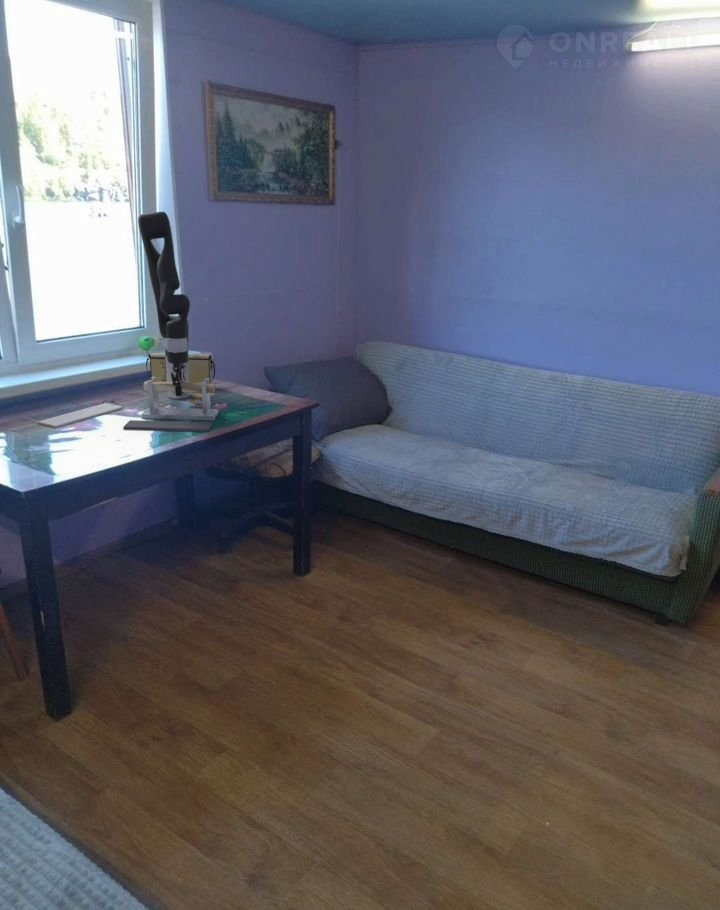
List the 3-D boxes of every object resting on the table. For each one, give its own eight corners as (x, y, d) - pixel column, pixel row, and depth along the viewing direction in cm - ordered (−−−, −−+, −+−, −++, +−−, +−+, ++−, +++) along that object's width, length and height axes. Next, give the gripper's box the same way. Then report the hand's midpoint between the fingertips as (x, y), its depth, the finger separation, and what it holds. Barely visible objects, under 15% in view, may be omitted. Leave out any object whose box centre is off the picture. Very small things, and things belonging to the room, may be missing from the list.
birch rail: (146, 388, 266) (145, 381, 265) (214, 390, 266) (214, 383, 265) (143, 390, 263) (143, 383, 262) (213, 392, 263) (213, 385, 262)
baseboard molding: (33, 424, 254) (55, 430, 248) (32, 416, 253) (54, 422, 247) (102, 405, 279) (123, 410, 274) (101, 398, 278) (122, 403, 273)
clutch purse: (217, 385, 314) (215, 352, 309) (214, 389, 307) (213, 355, 302) (149, 383, 312) (147, 350, 307) (146, 387, 306) (143, 353, 301)
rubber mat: (130, 422, 257) (129, 420, 257) (212, 425, 258) (212, 422, 257) (123, 429, 249) (123, 426, 249) (208, 431, 250) (208, 429, 250)
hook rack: (148, 410, 272) (146, 375, 267) (218, 412, 273) (217, 377, 268) (141, 418, 263) (138, 381, 258) (213, 420, 263) (212, 384, 259)
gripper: (171, 345, 266) (174, 389, 271) (162, 352, 252) (165, 399, 258) (191, 346, 266) (193, 390, 272) (183, 353, 253) (185, 399, 258)
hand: (179, 394), depth 265 cm, fingers closed on birch rail, 3 cm apart
